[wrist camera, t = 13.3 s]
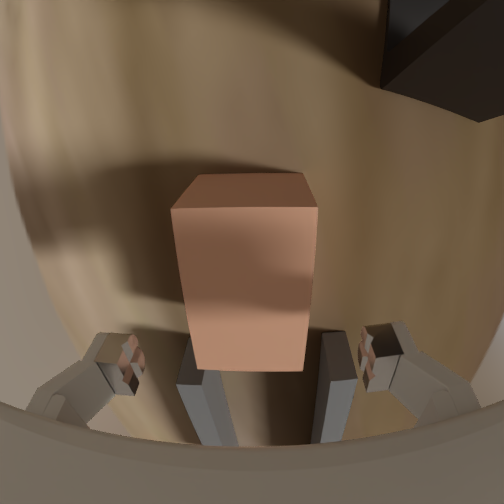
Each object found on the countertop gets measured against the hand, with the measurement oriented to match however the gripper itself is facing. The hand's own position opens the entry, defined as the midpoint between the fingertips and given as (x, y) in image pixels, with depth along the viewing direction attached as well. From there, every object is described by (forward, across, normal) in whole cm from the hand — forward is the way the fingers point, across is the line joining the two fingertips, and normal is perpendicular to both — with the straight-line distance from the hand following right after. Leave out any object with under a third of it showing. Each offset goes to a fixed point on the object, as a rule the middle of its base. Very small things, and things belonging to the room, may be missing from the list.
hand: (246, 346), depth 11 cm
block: (+7, 0, 0) cm, 7 cm away
